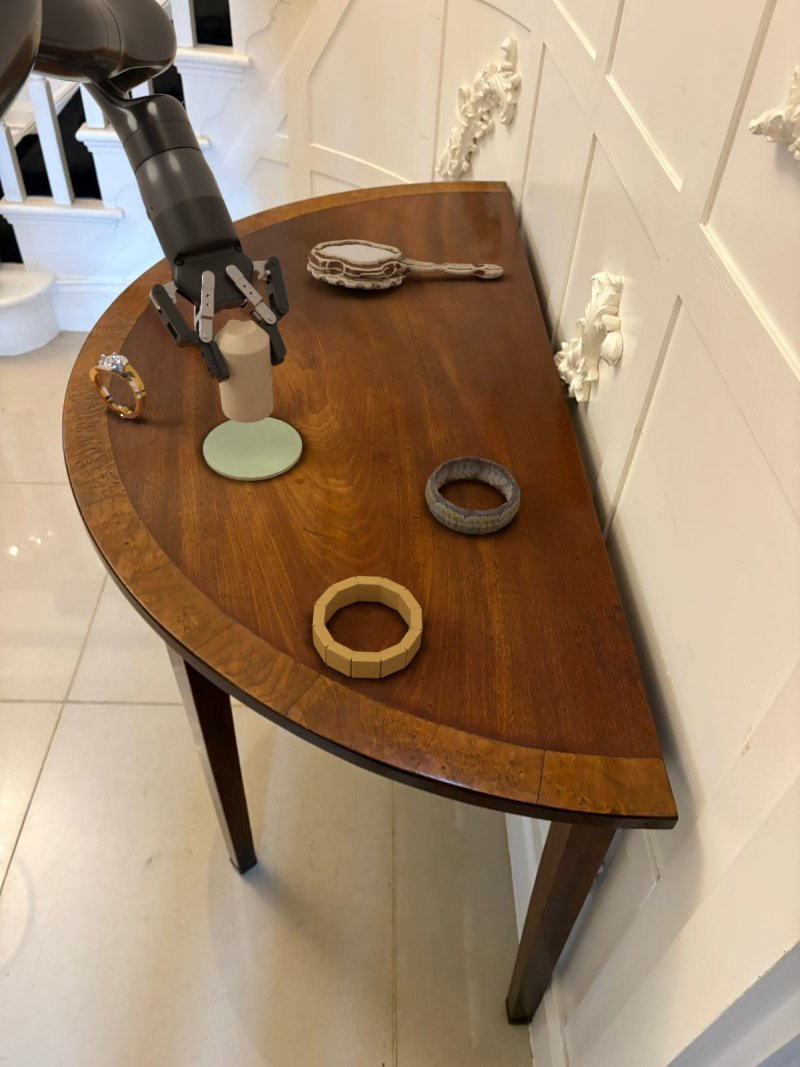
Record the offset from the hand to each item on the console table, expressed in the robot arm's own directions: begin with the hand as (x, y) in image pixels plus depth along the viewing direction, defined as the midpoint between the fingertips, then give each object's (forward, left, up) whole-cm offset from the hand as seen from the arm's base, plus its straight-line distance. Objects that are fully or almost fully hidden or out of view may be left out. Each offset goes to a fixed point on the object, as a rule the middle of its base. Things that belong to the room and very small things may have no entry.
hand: (252, 371), depth 80 cm
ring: (-11, +14, -11) cm, 21 cm away
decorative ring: (+17, -17, -11) cm, 27 cm away
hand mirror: (+36, +29, -11) cm, 47 cm away
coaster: (0, +2, -11) cm, 11 cm away
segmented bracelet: (-1, -27, -11) cm, 30 cm away
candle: (0, +2, -6) cm, 6 cm away
